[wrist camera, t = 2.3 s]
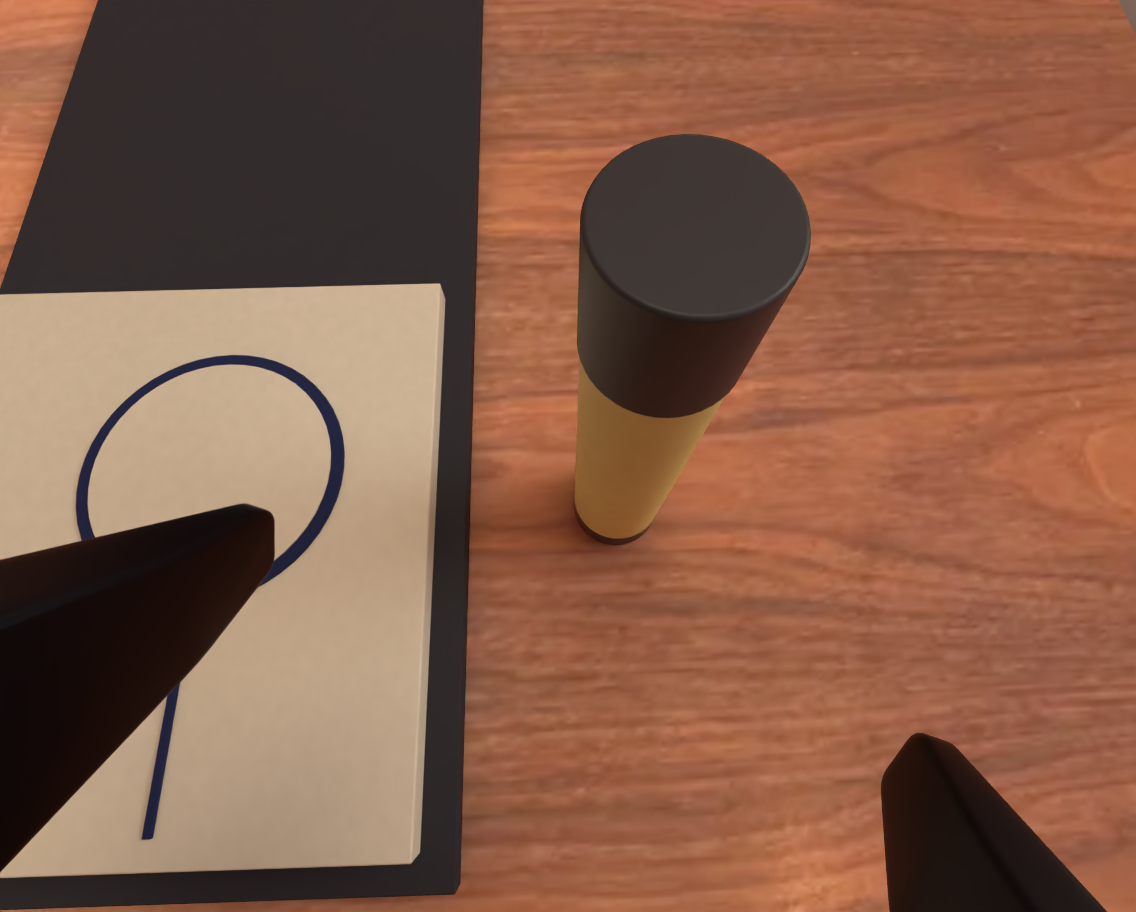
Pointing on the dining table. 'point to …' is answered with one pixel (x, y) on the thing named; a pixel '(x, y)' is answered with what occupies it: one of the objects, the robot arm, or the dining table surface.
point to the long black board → (262, 431)
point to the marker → (671, 311)
